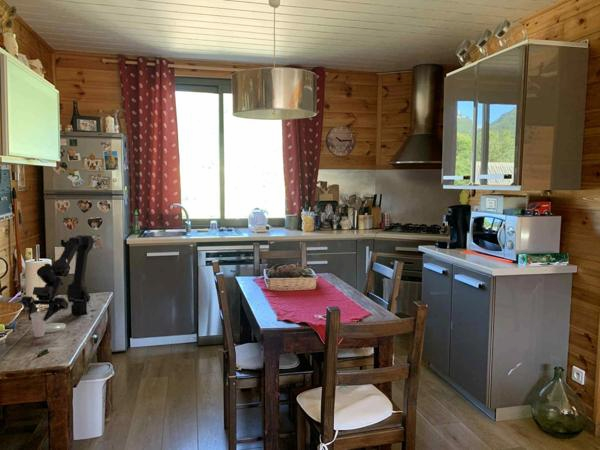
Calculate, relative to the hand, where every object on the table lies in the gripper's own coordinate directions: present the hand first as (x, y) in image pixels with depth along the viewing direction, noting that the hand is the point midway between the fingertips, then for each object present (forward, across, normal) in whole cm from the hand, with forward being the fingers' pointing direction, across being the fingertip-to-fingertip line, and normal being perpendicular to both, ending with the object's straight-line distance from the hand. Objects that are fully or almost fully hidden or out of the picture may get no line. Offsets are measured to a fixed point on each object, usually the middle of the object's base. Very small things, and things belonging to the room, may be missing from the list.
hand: (36, 320), depth 198 cm
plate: (-3, 0, +13) cm, 13 cm away
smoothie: (+4, 0, +6) cm, 7 cm away
